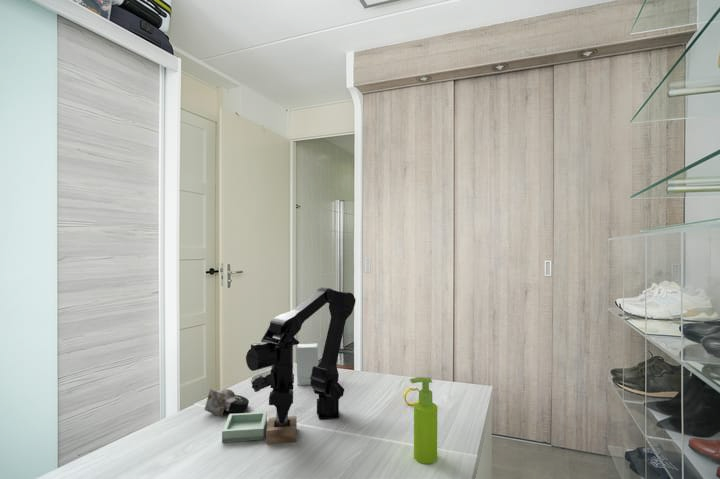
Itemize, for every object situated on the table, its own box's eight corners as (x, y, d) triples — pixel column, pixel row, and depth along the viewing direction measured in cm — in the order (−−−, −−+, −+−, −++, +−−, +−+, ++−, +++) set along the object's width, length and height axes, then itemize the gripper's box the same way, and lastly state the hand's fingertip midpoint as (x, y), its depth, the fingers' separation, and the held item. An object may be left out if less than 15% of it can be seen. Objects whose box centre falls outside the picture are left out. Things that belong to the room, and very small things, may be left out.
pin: (290, 431, 112) (290, 396, 112) (289, 439, 107) (290, 402, 107) (274, 432, 111) (274, 397, 111) (273, 440, 107) (273, 403, 107)
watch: (419, 403, 133) (420, 385, 133) (422, 406, 130) (423, 388, 131) (402, 402, 132) (403, 385, 133) (404, 406, 130) (406, 388, 130)
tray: (266, 421, 118) (266, 411, 118) (263, 439, 107) (263, 428, 107) (229, 424, 116) (229, 414, 116) (221, 442, 105) (222, 431, 105)
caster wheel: (249, 414, 129) (232, 422, 119) (221, 403, 132) (203, 410, 123) (255, 394, 130) (239, 401, 120) (227, 383, 133) (209, 389, 123)
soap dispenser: (407, 452, 101) (407, 374, 101) (433, 451, 101) (433, 374, 102) (412, 464, 95) (412, 382, 95) (440, 463, 95) (440, 382, 96)
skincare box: (318, 380, 155) (319, 342, 155) (317, 385, 149) (317, 346, 149) (297, 380, 155) (298, 342, 155) (295, 385, 149) (296, 346, 149)
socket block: (296, 428, 114) (296, 416, 114) (296, 441, 106) (296, 428, 106) (268, 430, 112) (268, 417, 112) (266, 443, 104) (266, 430, 105)
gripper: (257, 354, 117) (256, 406, 117) (249, 374, 99) (248, 435, 99) (294, 352, 119) (293, 403, 119) (293, 372, 101) (292, 432, 100)
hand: (282, 417), depth 109 cm, fingers open, 6 cm apart
